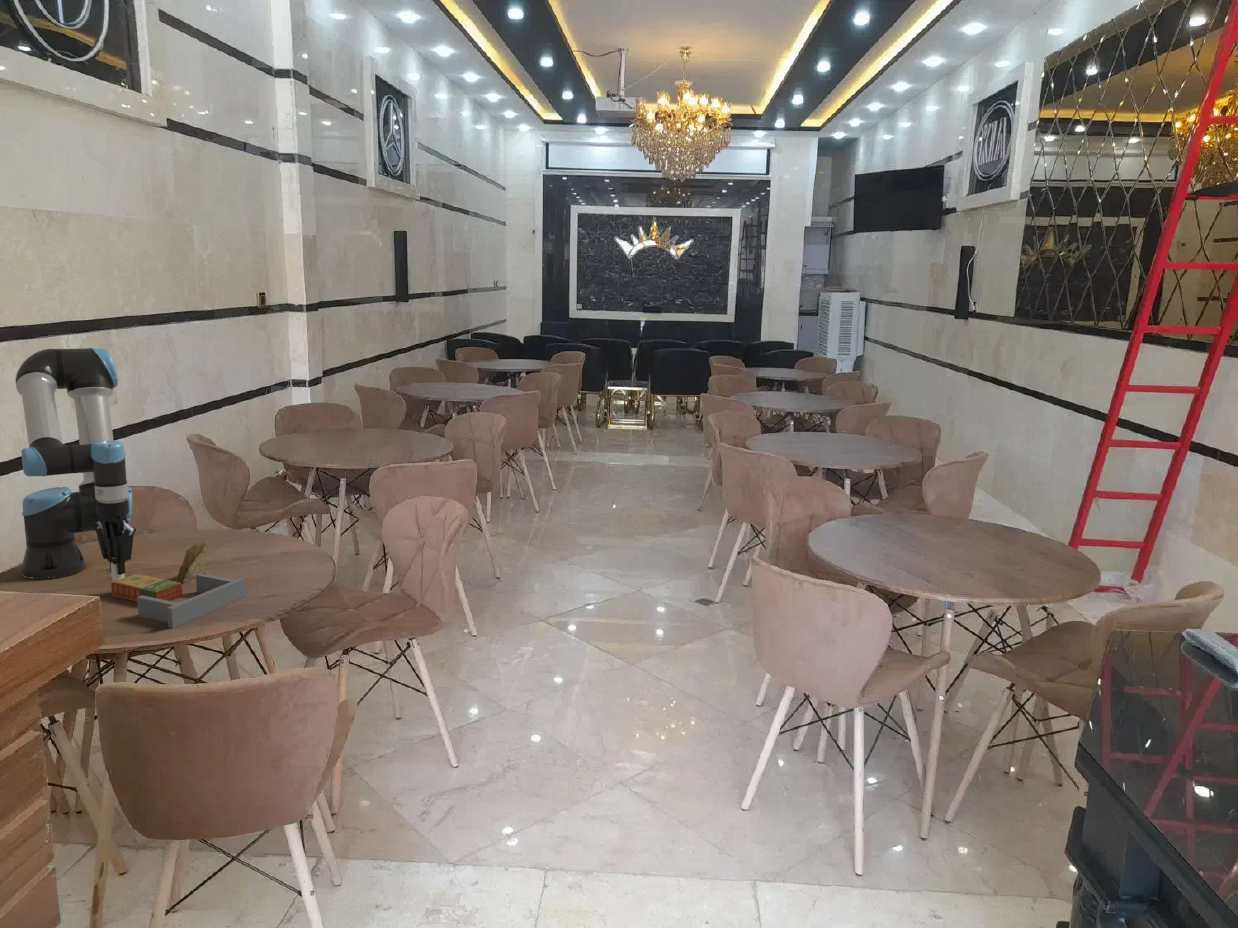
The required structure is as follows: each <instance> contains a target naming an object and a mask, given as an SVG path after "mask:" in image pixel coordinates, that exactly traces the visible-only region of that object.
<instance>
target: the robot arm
mask: <svg viewBox="0 0 1238 928" xmlns="http://www.w3.org/2000/svg"><path fill="white" fill-rule="evenodd" d="M118 385H119V380H118V373H117V369H116V365H115V362H114V358H113V356H112V354H111V353H110V352H109V351H108V350H107V349H105V348H93V347H89V348H47V349H46V348H45V349H42V350H39V351H36V352H35V353H33V354H31V355H30V356H29V357H27V358H26V359H25V360H24V361H23V362H22V363H21V365H20V367H19V368H18V370H17V372H16V375H15V388H16V391H17V392H18V393H19V395H20V396H21V398H22V406H23V413H24V419H25V427H26V433H27V442H28V447H25V448H22V450H21V451H20V452H21V453H20V455H21V463H22V468H23V469H22V471H23V475H25V476H27V477H47V476H50V477H51V476H59V475H68V474H83V481H81V483H80V484H79V485H78V491H75V492H72V490H71V488H70V487H67V486H63V487H57V486H56V487H51V488H46V489H42V490H41V489H40V490H37V491H35V492H32V493H30V494H27V495H26V496H25V497H23V500H22V503H21V504H22V512H21V515H22V516H23V522H24V523H23V524H24V525H23V526H24V532H25V533H24V535H25V545H26V549H25V552H24V555H23V556H24V557H23V561H22V564H21V566H20V567H21V569H20V570H21V575H22V574H23V575H24V576H26V577H33V578H48V577H49V578H52V577H59V578H64V577H69V576H72V575H75V574H78V573H80V572H83V570H84V569H85V568H86V563H85V558H84V556H83V554H82V552H81V550H80V549H79V546H78V544H77V542H76V534H77V533H86V532H93V531H94V532H95V533H96V537H97V542H98V544H99V548H100V552H101V556H102V558H103V559H104V560H107V562H109V569H110V570H109V571H110V573H111V583H112V582H114V581H117V580H119V579H122V578H125V577H126V562H128V561H130V560H131V559H132V554H133V553H132V552H133V547H134V546H133V544H134V543H133V542H134V535H135V533H136V532H137V528H136V527H135V526H130V523H131V519H132V511H133V489H132V488H131V487H130V486H128V481H127V467H126V455H127V453H126V451H125V446H124V442H122V441H120V440H114V433H113V426H112V424H113V423H112V418H111V410H110V409H111V408H110V401H109V398H110V397H111V396H112V395H113V394H114V388H117V387H118ZM57 390H66V392H67V393H66V394H67V396H68V397H70V399H72V400H74V407H75V415H76V423H77V431H78V441H79V444H72V445H71V444H70V445H69V444H67V445H63V437H62V432H61V431H62V430H61V426H60V420H59V415H58V414H59V413H58V408H57V401H56V397H55V393H56V392H57ZM77 572H78V573H77ZM74 573H75V574H74ZM71 574H72V575H71ZM68 575H69V576H68ZM52 579H53V578H52Z"/></svg>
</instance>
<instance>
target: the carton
mask: <svg viewBox="0 0 1238 928" xmlns="http://www.w3.org/2000/svg"><path fill="white" fill-rule="evenodd" d="M110 585H111V586H110V587H111V594H112V597H116V598H119V599H120V598H121V599H125V600H129V601H132V602H133V601H134V602H137V597H139V596H142V595H143V596H148V597H153V598H157V599H162V600H167V601H174V600H176V599H179V598H181V597H183V586H182V583H180V582H176V581H172V580H168V579H163V578H159V577H154V576H148V575H145V574H140V573H135V574H131V575H129V576H125V578H122V579H119V580H117V581H114V582H112V581H111V583H110Z"/></svg>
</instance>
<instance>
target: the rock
mask: <svg viewBox="0 0 1238 928" xmlns="http://www.w3.org/2000/svg"><path fill="white" fill-rule="evenodd" d="M207 557H208V548H207V545H206V543H204V542H203V541H202V542H201V543H200V542H199V543H198V542H197V543H195V544H193V545H192V546H191V547H190V548H188V549H186V550H185V556H184V558H183V562H182V564H181V565H180V567H179V569H178V574H177V576H176V579H175V582H179V583H181V584H184V583H186V582H189V581H191V580H194V579H196V575H197V574H200V573H201V574H207V573H208V567H207V559H208V558H207Z"/></svg>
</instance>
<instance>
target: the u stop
mask: <svg viewBox="0 0 1238 928" xmlns="http://www.w3.org/2000/svg"><path fill="white" fill-rule="evenodd" d="M195 580H196V581H195V582H196V593H198V595H196V596H193V597H191V598H188V599H185V600H183V601H181V602H176V601H173V600H171V601H167V600H162V599H157V598H153V597H148V596H143V595H142V596H139V597H137V601H136V602H137V613H138V617H142V618H146V619H150V620H156V621H159V622H164V623H167V626H168V628H172V629H174V628H176V627H178V626H181V625H183V624H186V623H188V622H191V621H192V619H193V620H195V619H197V618H199V617H202V616H204V615H207V614H209V613H211V612H213V611H216V610H218V609H220V608H222V607H225V606H227V605H230V604H231V603H234V602H236V601H239V600H241V599H243V598H245V597H247V588H246V587H247V586H246V578H243V577H240V578H236V579H231V578H227V577H220V576H216V575H210V574H207V573H205V574H201V573H200V574H197V575H196V578H195Z"/></svg>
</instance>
